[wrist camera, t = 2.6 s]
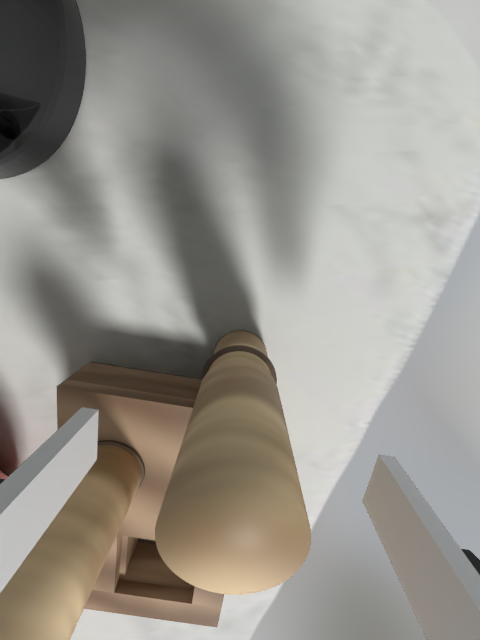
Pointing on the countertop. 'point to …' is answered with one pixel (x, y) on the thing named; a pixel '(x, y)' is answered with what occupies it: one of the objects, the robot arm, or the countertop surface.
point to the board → (111, 514)
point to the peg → (235, 481)
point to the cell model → (3, 475)
